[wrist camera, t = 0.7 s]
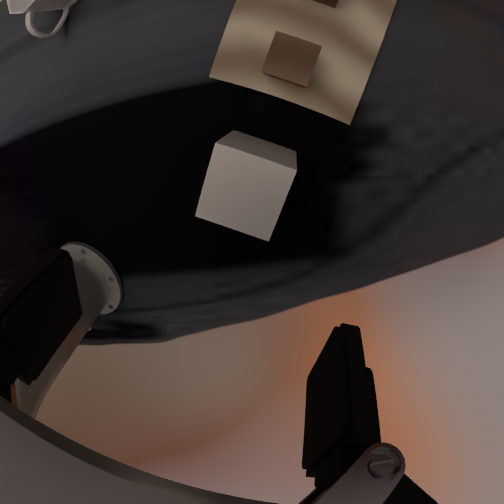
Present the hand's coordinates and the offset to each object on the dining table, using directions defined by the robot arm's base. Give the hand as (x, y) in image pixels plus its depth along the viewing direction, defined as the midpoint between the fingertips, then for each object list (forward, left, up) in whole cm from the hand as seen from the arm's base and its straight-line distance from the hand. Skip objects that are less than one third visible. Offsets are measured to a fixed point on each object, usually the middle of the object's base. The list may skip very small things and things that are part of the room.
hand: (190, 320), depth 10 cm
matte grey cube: (-1, 0, -24) cm, 24 cm away
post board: (+15, 0, -24) cm, 28 cm away
